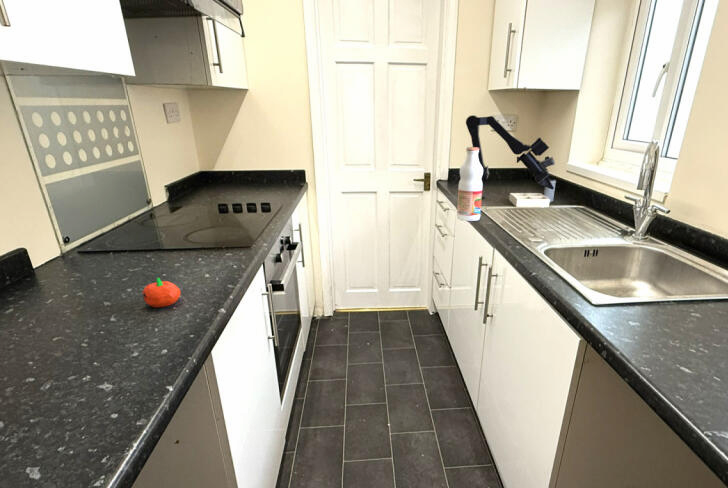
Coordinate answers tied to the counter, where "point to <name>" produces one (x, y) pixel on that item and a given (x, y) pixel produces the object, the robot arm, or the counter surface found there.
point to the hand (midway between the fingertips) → (552, 187)
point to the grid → (529, 200)
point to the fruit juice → (470, 187)
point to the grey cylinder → (550, 191)
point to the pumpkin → (161, 293)
